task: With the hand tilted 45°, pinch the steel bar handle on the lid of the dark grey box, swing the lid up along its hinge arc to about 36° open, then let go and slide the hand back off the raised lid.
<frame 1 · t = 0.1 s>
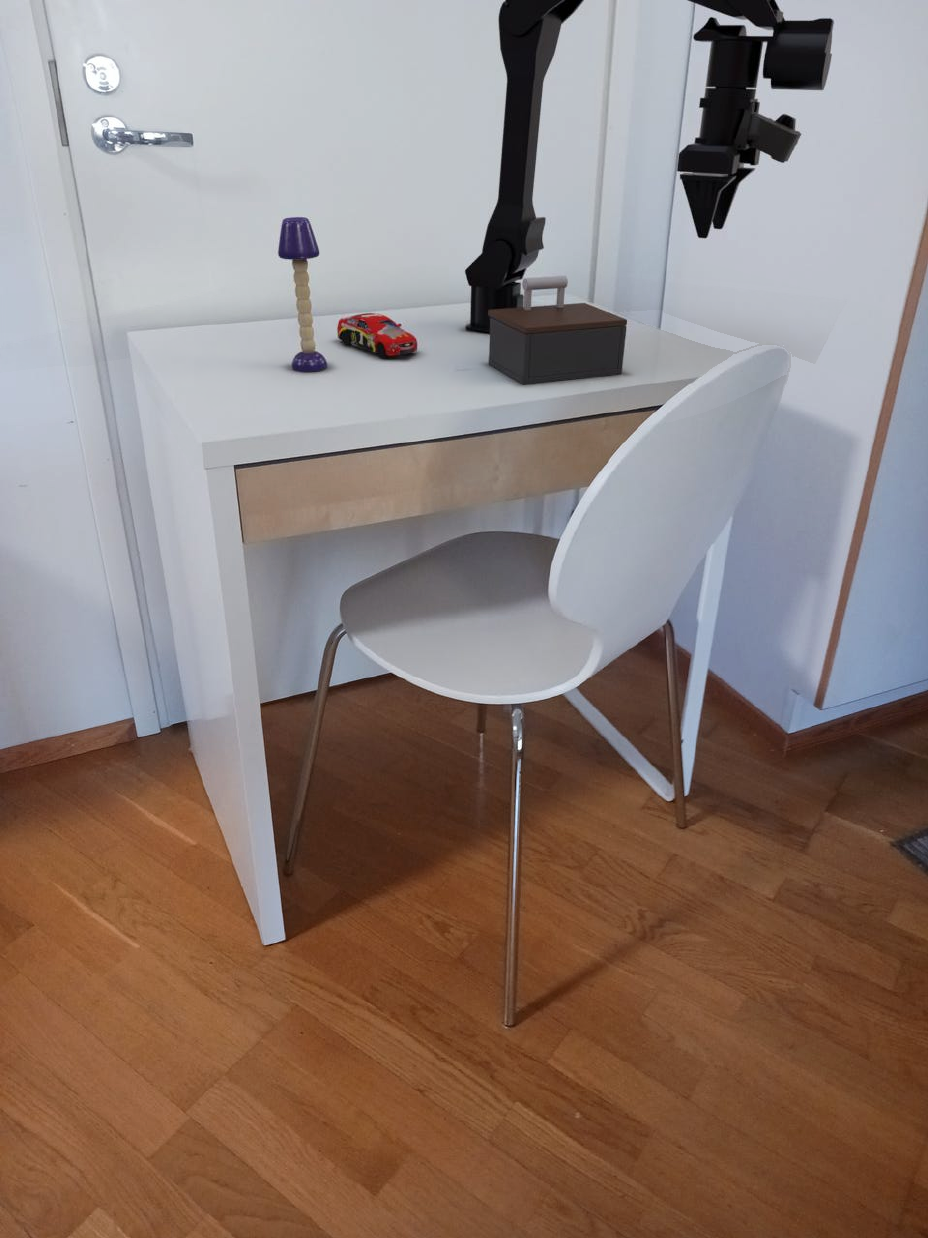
hand: (710, 233, 117), 15 cm above the table, tool pointing down, fingers open, 9 cm apart
race car: (376, 349, 123), on the table
chamber lid: (557, 301, 112), point 8 cm above the table, hinge at 0.0°
toy lamp: (306, 368, 115), on the table
dark grey box: (554, 369, 116), on the table
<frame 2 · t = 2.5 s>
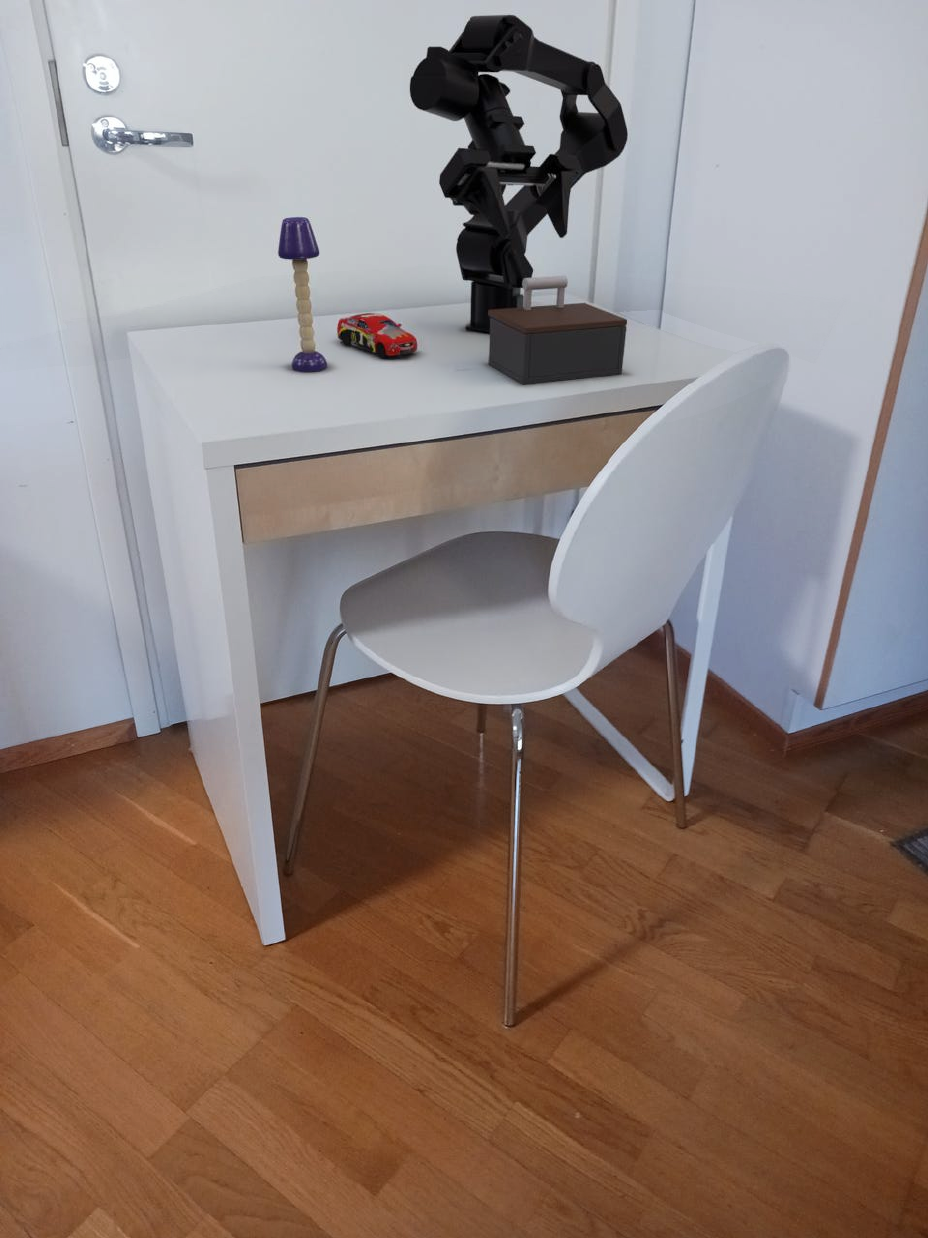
hand: (535, 235, 116), 14 cm above the table, tool tilted 40°, fingers open, 9 cm apart
nothing on the table moved.
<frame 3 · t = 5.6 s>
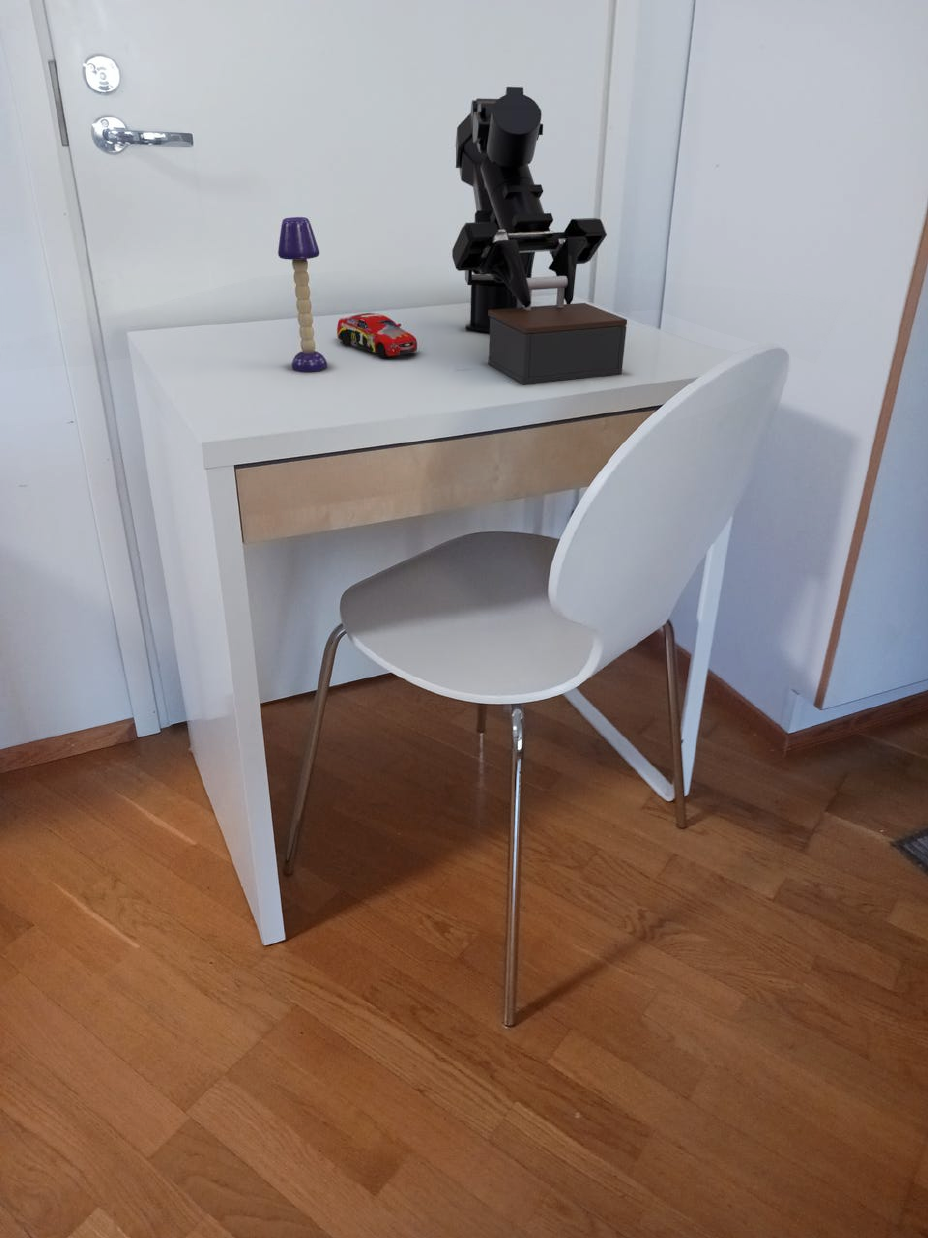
hand: (549, 303, 114), 7 cm above the table, tool tilted 45°, fingers closed on chamber lid, 5 cm apart
chamber lid: (557, 301, 112), point 8 cm above the table, hinge at 0.0°, touching gripper
everything else where it was.
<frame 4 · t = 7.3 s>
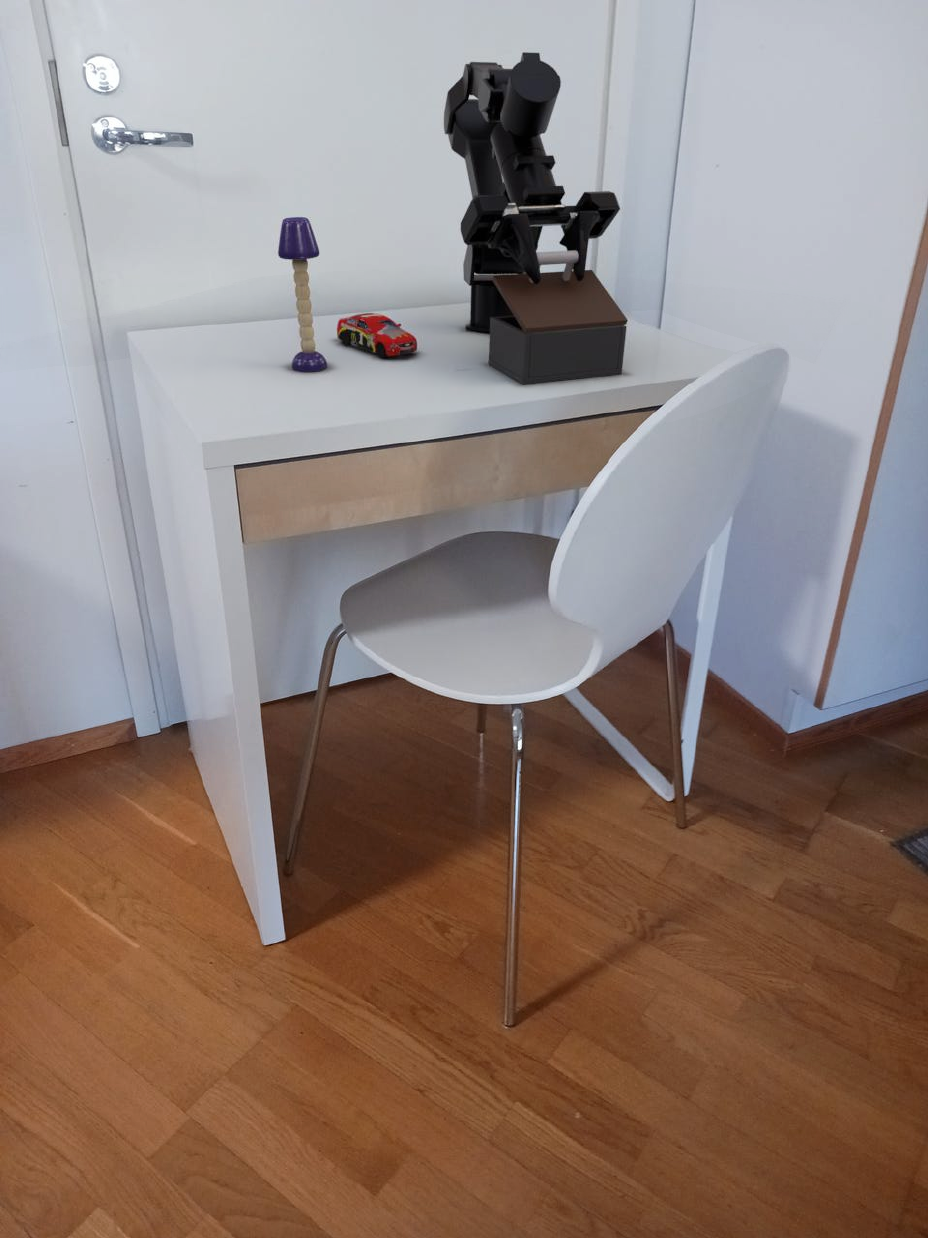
hand: (560, 280, 111), 10 cm above the table, tool tilted 45°, fingers closed on chamber lid, 5 cm apart
chamber lid: (564, 286, 110), point 10 cm above the table, hinge at 24.8°, touching gripper
everything else where it was.
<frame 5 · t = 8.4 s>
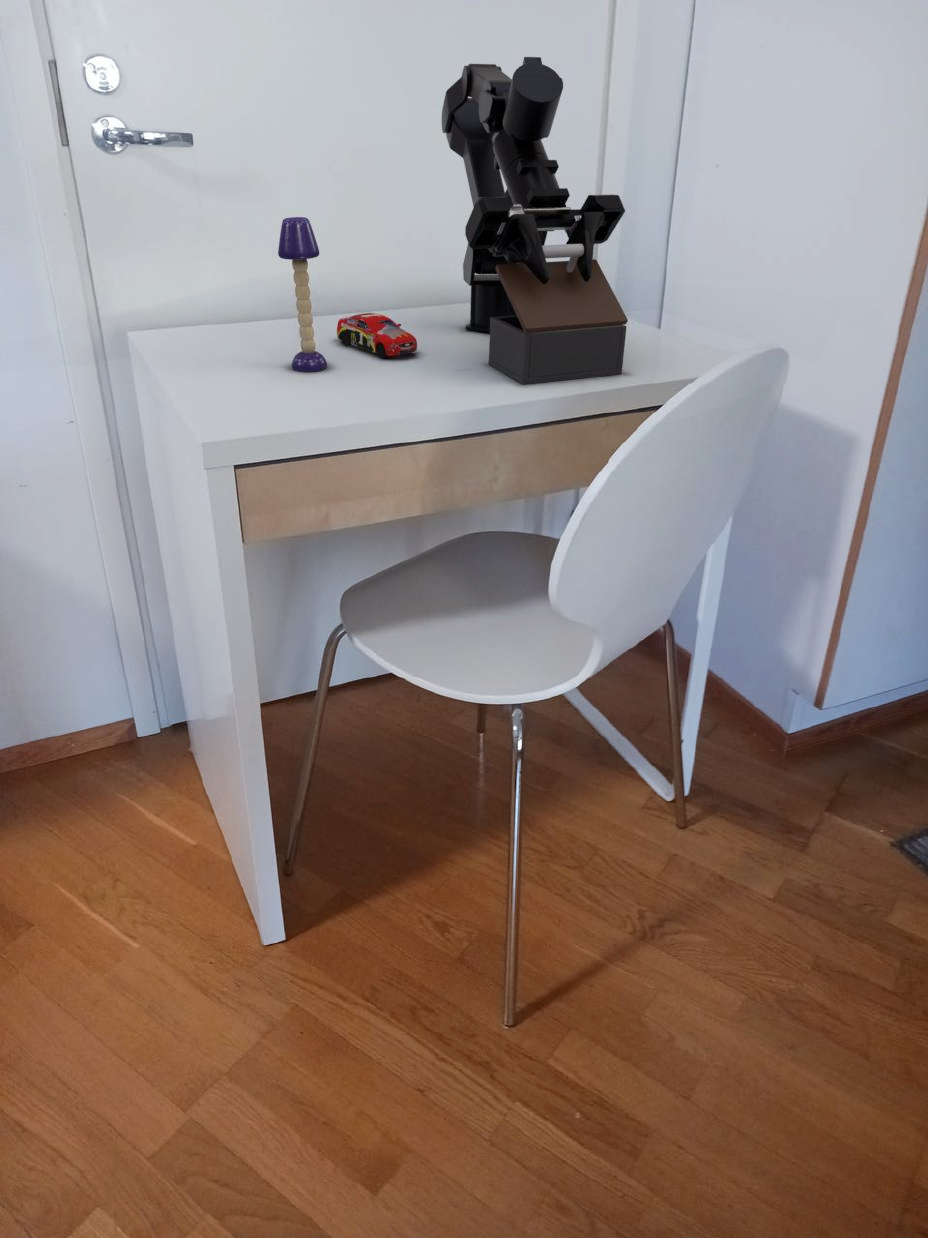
hand: (567, 280, 110), 11 cm above the table, tool tilted 50°, fingers closed on chamber lid, 5 cm apart
chamber lid: (567, 282, 110), point 10 cm above the table, hinge at 33.7°, touching gripper
everything else where it was.
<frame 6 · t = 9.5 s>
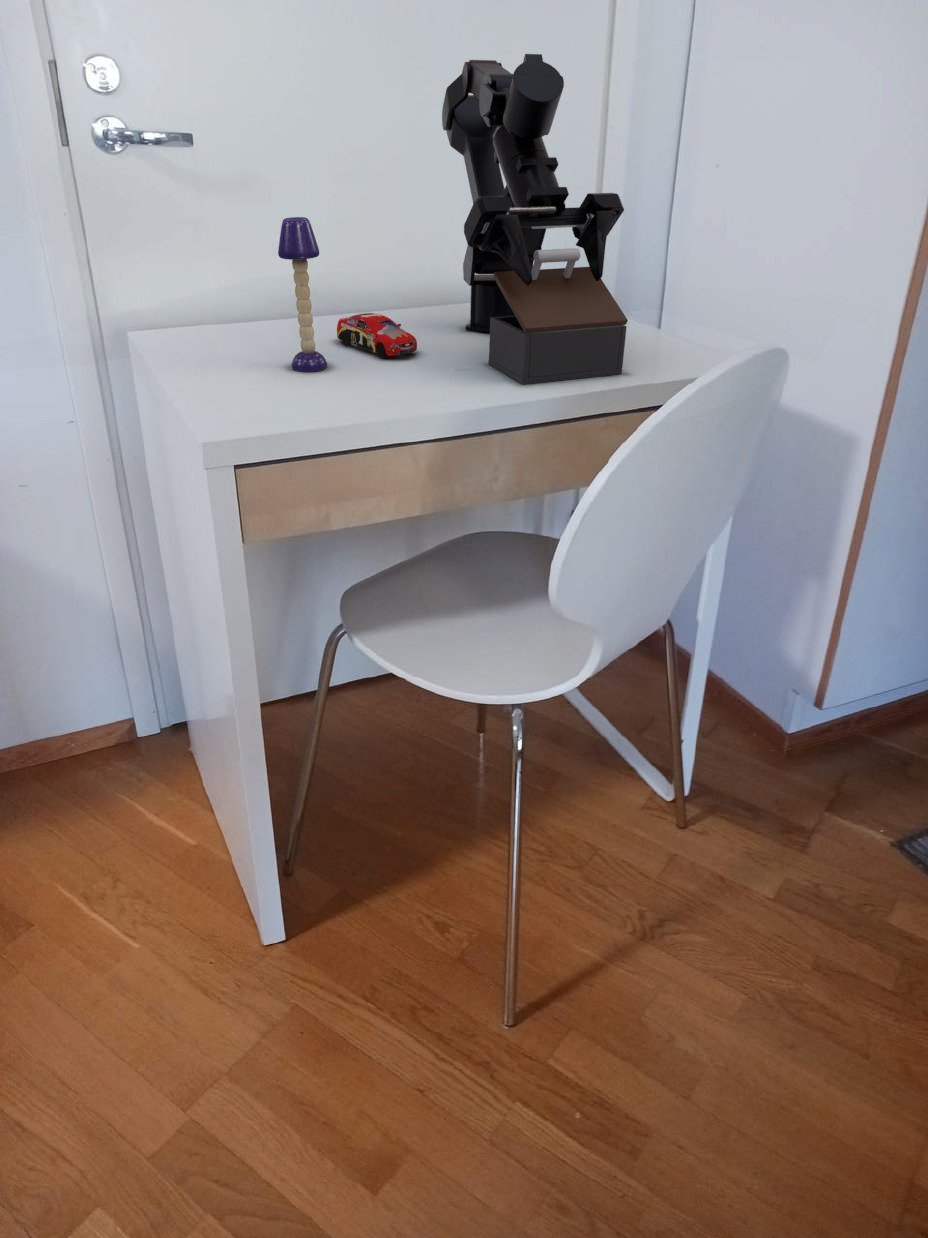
hand: (565, 280, 110), 11 cm above the table, tool tilted 45°, fingers open, 9 cm apart
chamber lid: (564, 285, 110), point 10 cm above the table, hinge at 27.5°
everything else where it was.
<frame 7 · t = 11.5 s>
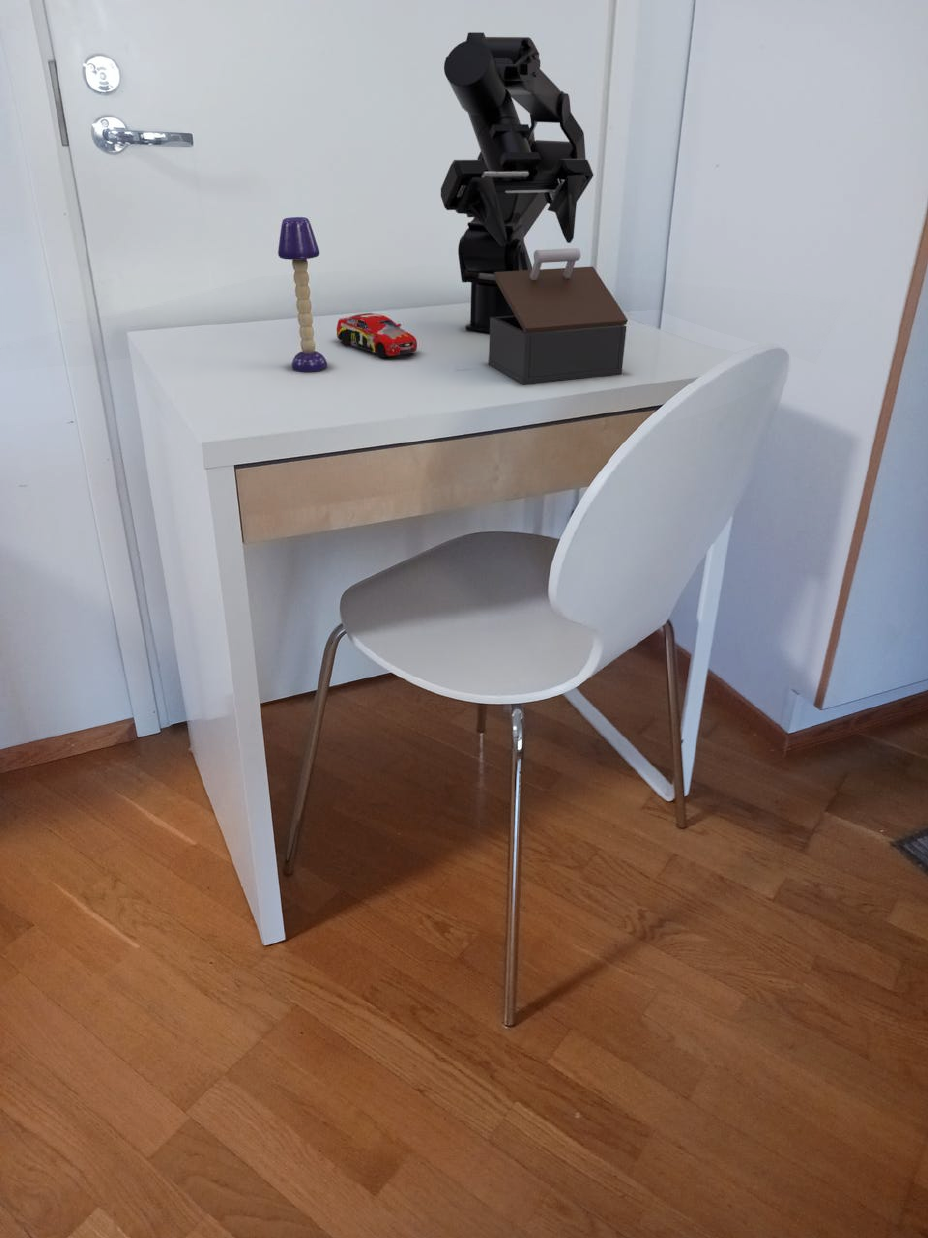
hand: (538, 242, 115), 14 cm above the table, tool tilted 45°, fingers open, 9 cm apart
nothing on the table moved.
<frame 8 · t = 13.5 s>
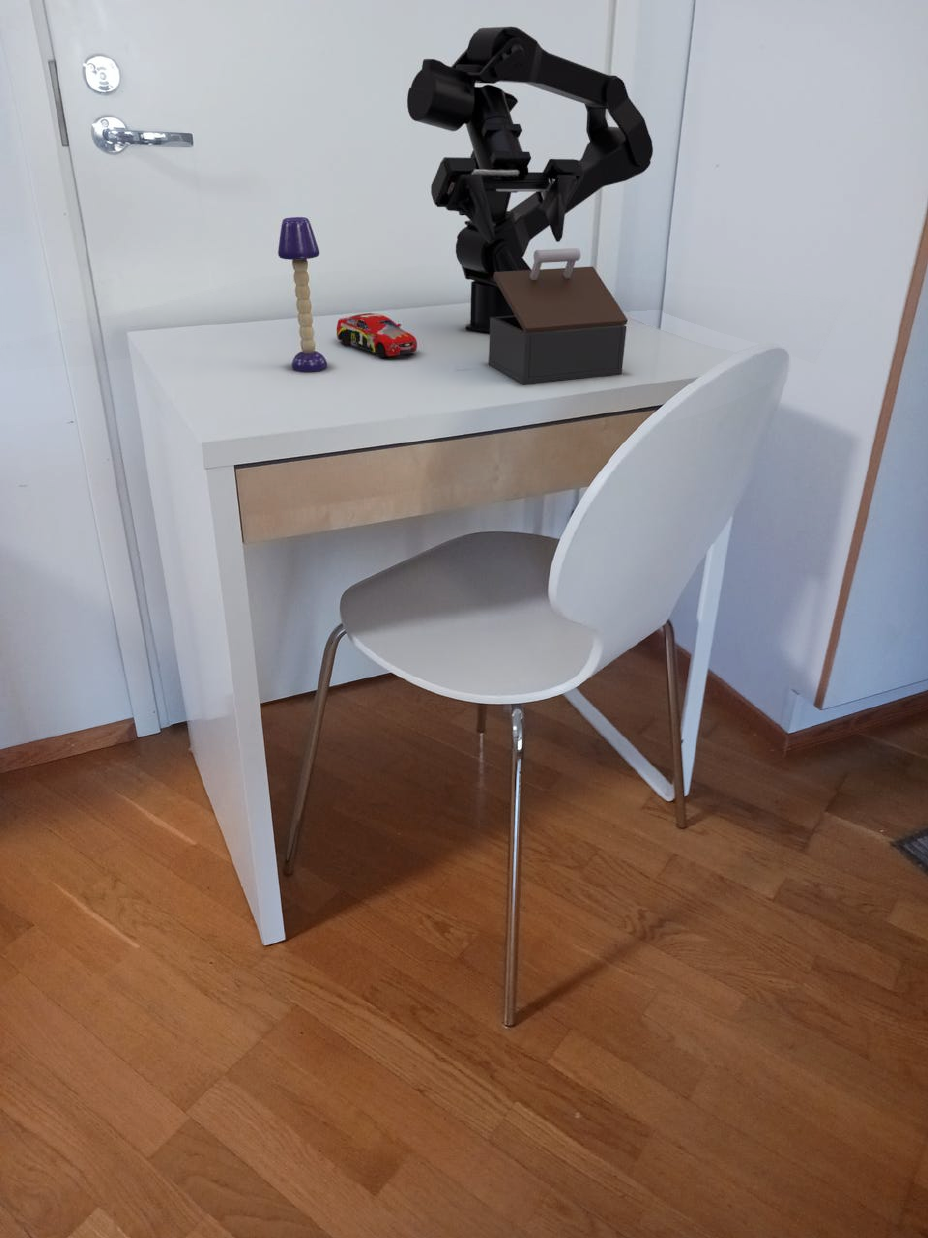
hand: (526, 240, 116), 14 cm above the table, tool tilted 45°, fingers open, 9 cm apart
nothing on the table moved.
at the end: chamber lid at +28° (first picture: +0°); chamber lid reached +34° during the clip, +28° at the end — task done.
